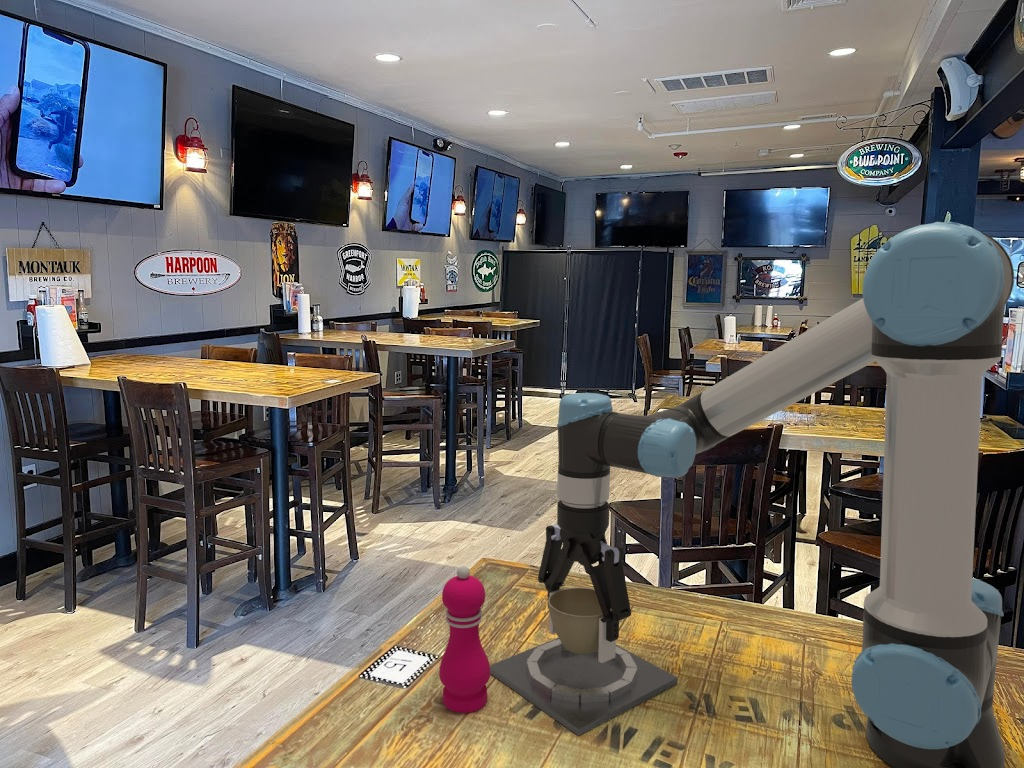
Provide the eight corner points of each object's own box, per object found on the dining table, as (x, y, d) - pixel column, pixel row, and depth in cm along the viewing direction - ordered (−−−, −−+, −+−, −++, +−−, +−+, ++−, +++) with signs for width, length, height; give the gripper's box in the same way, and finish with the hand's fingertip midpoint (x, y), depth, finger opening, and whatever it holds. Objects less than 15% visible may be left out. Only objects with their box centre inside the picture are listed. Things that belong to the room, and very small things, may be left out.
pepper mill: (454, 721, 99) (452, 581, 96) (431, 696, 105) (428, 563, 102) (500, 705, 103) (499, 569, 100) (475, 681, 109) (473, 553, 106)
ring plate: (677, 683, 108) (677, 669, 108) (578, 736, 96) (578, 720, 96) (583, 632, 124) (583, 620, 123) (488, 672, 111) (488, 658, 111)
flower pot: (612, 667, 103) (613, 619, 102) (542, 659, 105) (542, 612, 104) (617, 633, 113) (618, 589, 112) (553, 627, 115) (553, 584, 114)
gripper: (661, 515, 99) (656, 667, 103) (551, 479, 117) (550, 610, 120) (622, 526, 95) (619, 686, 98) (514, 487, 112) (514, 623, 116)
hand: (581, 644), depth 109 cm, fingers closed on flower pot, 10 cm apart
